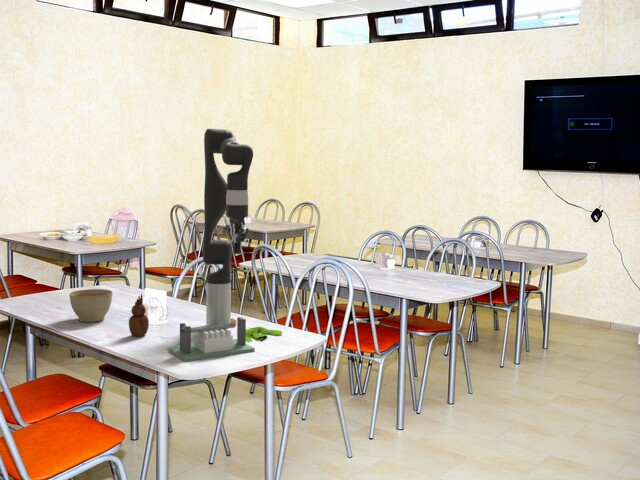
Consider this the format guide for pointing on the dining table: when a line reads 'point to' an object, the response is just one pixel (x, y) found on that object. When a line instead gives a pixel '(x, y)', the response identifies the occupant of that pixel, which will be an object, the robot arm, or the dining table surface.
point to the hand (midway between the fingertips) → (236, 253)
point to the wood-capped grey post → (212, 327)
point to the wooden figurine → (138, 319)
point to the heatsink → (212, 343)
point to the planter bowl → (91, 304)
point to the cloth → (260, 333)
